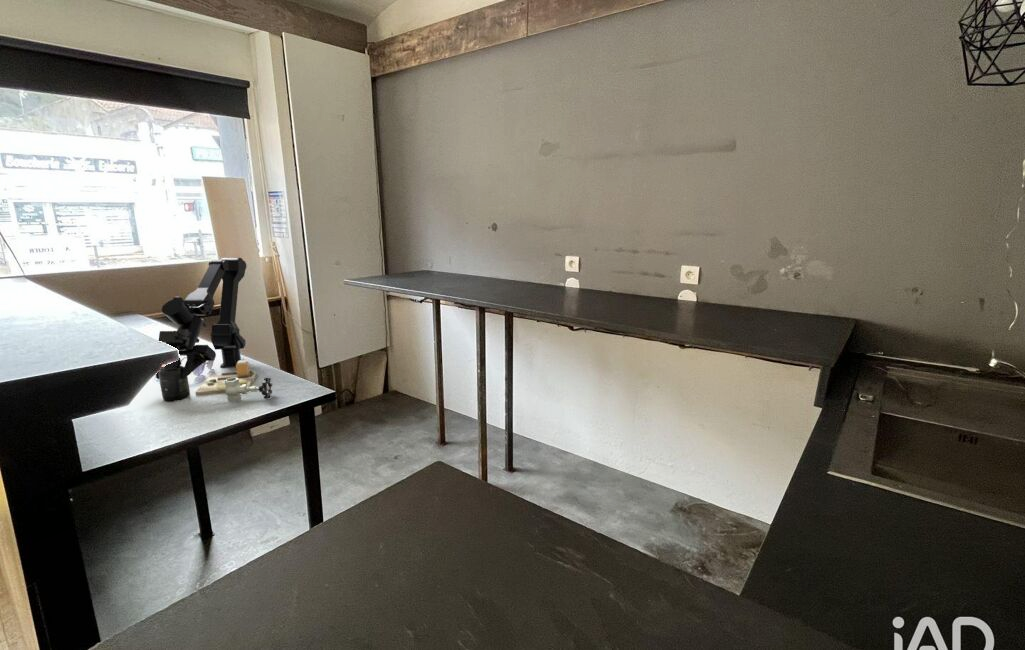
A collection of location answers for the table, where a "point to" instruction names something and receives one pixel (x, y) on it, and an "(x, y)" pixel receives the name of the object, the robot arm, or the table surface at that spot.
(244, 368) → the orange rectangular block
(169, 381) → the supplement bottle
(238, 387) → the valve
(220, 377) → the panel
